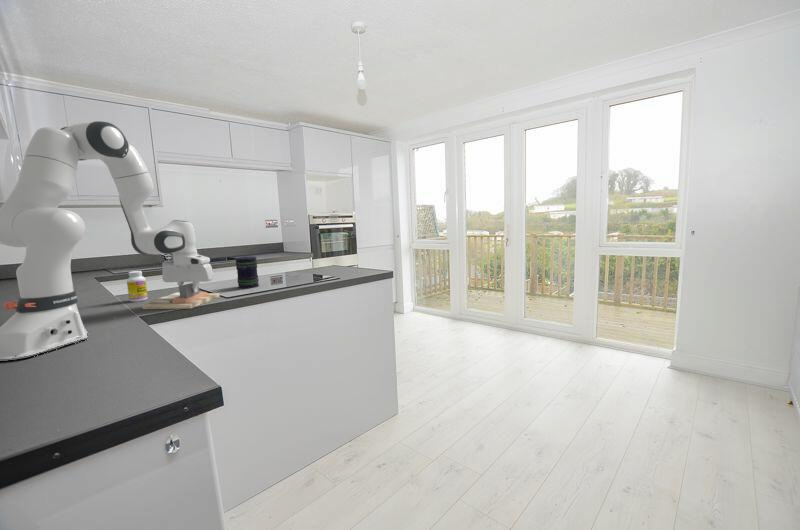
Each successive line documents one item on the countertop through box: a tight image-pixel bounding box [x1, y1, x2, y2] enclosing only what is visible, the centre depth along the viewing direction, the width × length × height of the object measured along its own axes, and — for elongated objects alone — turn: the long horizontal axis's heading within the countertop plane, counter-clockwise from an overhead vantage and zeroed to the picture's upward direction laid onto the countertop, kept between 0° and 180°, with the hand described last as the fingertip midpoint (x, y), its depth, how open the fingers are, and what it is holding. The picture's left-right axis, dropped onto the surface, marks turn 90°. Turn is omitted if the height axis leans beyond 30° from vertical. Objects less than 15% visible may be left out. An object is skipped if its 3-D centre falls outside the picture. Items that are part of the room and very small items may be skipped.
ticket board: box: [141, 291, 220, 310], centre depth 148 cm, size 20×20×3 cm
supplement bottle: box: [126, 270, 148, 303], centre depth 154 cm, size 7×7×13 cm
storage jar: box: [235, 256, 260, 290], centre depth 177 cm, size 10×10×15 cm
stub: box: [172, 282, 208, 303], centre depth 147 cm, size 14×6×6 cm, turn 177°
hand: (189, 292), depth 147 cm, fingers closed on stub, 3 cm apart
